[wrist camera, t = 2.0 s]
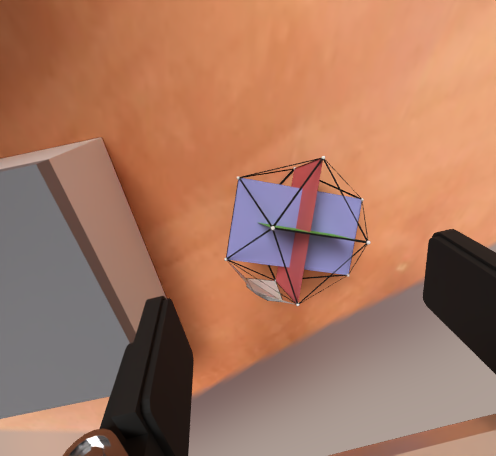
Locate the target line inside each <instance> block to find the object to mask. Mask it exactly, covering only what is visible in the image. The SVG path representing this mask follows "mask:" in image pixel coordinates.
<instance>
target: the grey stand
mask: <svg viewBox="0 0 496 456" xmlns="http://www.w3.org/2000/svg"><path fill="white" fill-rule="evenodd" d="M159 296H165V298H166V295H165V293H164V290H163V288H162V286H161V283H160V281H159V278H158V276H157V273H156V271H155V268H154V266H153V263H152V261H151V258H150V256H149V253H148V251H147V249H146V246H145V244H144V241H143V239H142V236H141V234H140V231H139V229H138V226H137V224H136V221H135V219H134V216H133V214H132V211H131V209H130V207H129V204H128V202H127V199H126V197H125V194H124V192H123V189H122V187H121V184H120V182H119V179H118V177H117V174H116V172H115V169H114V167H113V165H112V162H111V160H110V157H109V155H108V152H107V150H106V147H105V145H104V142H103V140H102V137H100V138H96V139H91V140H86V141H82V142H77V143H72V144H67V145H63V146H58V147H53V148H49V149H44V150H39V151H34V152H30V153H25V154H20V155H16V156H11V157H6V158H1V159H0V419H2V418H7V417H12V416H17V415H22V414H26V413H31V412H36V411H41V410H46V409H51V408H56V407H60V406H65V405H70V404H75V403H80V402H85V401H90V400H95V399H99V398H104V397H109V396H110V395H111V392H112V389H113V386H114V383H115V380H116V376H117V373H118V370H119V367H120V364H121V361H122V358H123V355H124V352H125V349H126V347H127V345H128V344H129V343H133V342H134V339H135V336H136V332H137V329H138V326H139V322H140V319H141V316H142V312H143V309H144V306H145V302H146V300H147V299H151V298H155V297H159ZM166 299H167V298H166Z"/></svg>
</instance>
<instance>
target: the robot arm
mask: <svg viewBox="0 0 496 456" xmlns="http://www.w3.org/2000/svg"><path fill="white" fill-rule="evenodd" d="M423 300H424V302H425V304H426V306H427V307H428V308H429V309H430V310H431V311H433V313H434V314H435V315H436V316H437V317H438V318H439V319H440V320H441V321H442V322H443V323H444V324H445V325H446V326H448V328H449V329H450V330H451V331H453V332H454V333H455V334H456V335H457V336H458V337H459V338H460V339H461V340H462V341H463V342H464V343H465V344H466V345H467V346H468V347H469V348H470V349H471V350H472V351H473V352H474V353H475V354H476V355H477V356H478V357H479V358H480V359H481V360H482V361H483V362H484V363H485V364H486V365H487V366H488V367H489V368H490V369H491V370H492V371H493V372H494V373H495V374H496V253H495V252H494V251H492V250H490V249H488V248H487V247H485V246H483V245H481V244H479V243H478V242H476V241H474V240H472V239H471V238H469V237H467V236H465V235H464V234H462V233H460V232H458V231H456V230H454V229H449V230H445V231H441V232H436V233H434V234H433V236H432V238H430V240H429V243H428V253H427V262H426V271H425V281H424V290H423ZM192 379H193V353H192V350H191V348H190V345H189V342H188V340H187V337H186V335H185V332H184V330H183V327H182V325H181V322H180V320H179V317H178V315H177V312H176V310H175V307H174V305H173V302H172V300H171V299H170V298H169V299H166V298H165V296H159V297H155V298H151V299H147V300H146V302H145V306H144V309H143V312H142V316H141V319H140V322H139V326H138V329H137V332H136V336H135V339H134V342H133V343H129V344H128V345H127V347H126V349H125V352H124V355H123V358H122V361H121V364H120V367H119V370H118V373H117V376H116V380H115V383H114V386H113V389H112V392H111V395H110V398H109V401H108V404H107V407H106V410H105V414H104V417H103V420H102V423H101V426H100V429H97V430H93V431H91V432H89V433H87V434H85V435H83V436H82V437H81V438H79V439H78V440H77V441H75V442H74V443H73V444H72V445H71V446H70V447H69V448H68V449H67V450H66V452H65V453H64V455H63V456H188V448H189V431H190V413H191V397H192ZM329 456H496V414H493V415H489V416H485V417H480V418H476V419H472V420H468V421H464V422H460V423H456V424H452V425H448V426H444V427H440V428H436V429H432V430H428V431H424V432H420V433H416V434H412V435H408V436H404V437H400V438H396V439H392V440H388V441H384V442H380V443H377V444H372V445H368V446H364V447H360V448H356V449H352V450H348V451H344V452H341V453H337V454H333V455H329Z"/></svg>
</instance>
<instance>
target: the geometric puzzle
mask: <svg viewBox="0 0 496 456" xmlns="http://www.w3.org/2000/svg"><path fill="white" fill-rule="evenodd" d="M314 160H315V161H314ZM314 160H310V161H312V162H310V163H307V164H304V165H302V166H299V167H297V168H295V167H294V168H293V169H288V170H292V171H291V172H290V173H289V174H288V175H287V176H286V177H285V178H284V180H283V181H282V182H281V183H280V184H273V183H268V182H262V181H256V180H251V179H245V178H243V177H250V176H256V175H262V174H258V173H255V174H256V175H254V174H251V175H247V176H242V177H239V176H238V177H237V179H238V184H237V191H236V197H235V204H234V210H233V216H232V223H231V229H230V236H229V242H228V249H227V255H226V258H225V261H227V260H228V261H229V262H231V263H232V262H233V261H230V260H235V261H243V262H251V263H258V264H266V265H268V266H269V268H270V265H274V266H278V270H277V276H276V279H275V276H274V274H273V272H272V270H271V268H270V271H271V273H272V275H273V277H274V279H275V280H274V279H272V278H270V279H272V280H274V281H272V280H261V279H257V278H256V279H251V278H245V277H244V276H243V275H242V274H241V273H240V272H239V271H238V270H237V269H236V268H235V267H234V266H232V265H231V264H230V263H229V264H230V265H231V266H232V267H233V268H234V269H235V271H236V272H237V273H238V274H239V275H240V276H241V278H242V279H243V280H244V281H245V282H246V285H247V288H249V289H250V290H251V291H253V292H254V293H255V294H256V295H258V296H260V297H262V298H264V299H266V300H267V301H276V302H285V303H290V302H287V301H283V300H282V297H281V295H282V294H281V293H280V291H279V289H278V286H277V283H278V284H279V286H280V287H281V288H282V289H283V290H284V291H285V292H286V293H287V294H288V295H289V297H290V298H291V299H292V300H293V301H294V303H295V305H297V306H299V305H300V303H302V301H303V300H304V299H305V298H307V297H308V296H309V295H310V294H311V293H312V292H313V291H315V290H316V289H317V288H318V287H319V286H320V285H321V284H322V283H324V282H325V281H326V280H327V279H328V278H329V277H334V276H345V277H346V275H347V276H348V277H349V270H350V264H351V259H352V257H353V256H354V255H355V254H356V253H358V252H359V251H360V250H361V249H362V248H363V247H364V246H365V245H366V246H367V244H370V241H368V236H367V238H366V236H365V234H364V233H363V231H362V229H361V227H360V225H359V223H358V220H359V215H360V209H361V204H362V205H363V202H362V201H363V198H361V197H360V196H359V195H358V194H357V193H356V192H355V191H354V192H355V193H356V194H357V195H358V196H359V197H360V198H359V197H357V196H354V195H352V194H350V193H348V192H346V191H343V190H341V189H340V187H339V186H338V184H337V182H336V180H335V178H334V176H333V174H332V172H331V170H330V169H329V167H328V165H327V163H328V162H327V161H326V160H325V156H322V158H319V159H314ZM323 160H324V162H325V164H326V166H327V168H328V169H329V171H330V173H331V175H332V177H333V179H334V181H335V183H336V184H337V186H338V188H337V187H335V186H332V185H330V184H328V183H326V182H323V181H321V180H319V179H320V173H321V167H322V162H323ZM306 162H309V161H306ZM326 162H327V163H326ZM302 163H305V162H302ZM297 164H301V163H297ZM328 164H329V163H328ZM293 165H296V164H293ZM329 165H330V164H329ZM289 166H292V165H289ZM330 166H331V165H330ZM285 167H288V166H285ZM331 167H332V166H331ZM280 168H284V167H280ZM332 168H333V167H332ZM276 169H279V168H276ZM333 169H334V168H333ZM272 170H275V169H272ZM268 171H271V170H268ZM282 171H287V170H282ZM293 171H294V174H293V180H292V186H291V187H290V186H285V185H281V184H282V183H283V182H284V181H285V180H286V179H287V177H288V176H289V175H290V174H291V173H292V172H293ZM264 172H267V171H264ZM275 172H281V171H275ZM275 172H269V173H275ZM259 173H262V172H259ZM269 173H263V174H269ZM339 176H340V175H339ZM340 177H341V176H340ZM341 178H342V177H341ZM342 179H343V178H342ZM343 180H344V179H343ZM319 181H320V182H322V183H325V184H327V185H329V186H331V187H334V188H336V189H338V190H340V192H341V194H342V196H341V195H335V194H330V193H324V192H319V191H318V185H319ZM344 181H345V180H344ZM345 182H346V181H345ZM346 183H347V182H346ZM347 184H348V183H347ZM342 192H345V193H347V194H349V195H351V196H353V197H356V198H352V197H347V196H344V195H343V193H342ZM363 212H364V208H363ZM364 219H365V215H364ZM357 226H359V228H360V230H361V232H362V233H363V235H364V237H365V239H366V241H362V240H356V239H355V237H356V231H357ZM365 226H366V222H365ZM366 233H367V229H366ZM354 242H362V243H366V244H365V245H364V246H363V247H362V248H361V249H359V250H358V251H357V252H356V253H355V254H354V255H353V256H352V253H353V248H354ZM366 246H365V247H366ZM364 249H365V248H364ZM363 251H364V250H363ZM363 251H362V252H363ZM361 254H362V253H361ZM359 257H360V256H359ZM358 259H359V258H358ZM358 259H357V260H358ZM356 262H357V261H356ZM233 263H235V262H233ZM233 263H232V264H233ZM235 264H237V263H235ZM235 264H234V265H235ZM355 264H356V263H355ZM355 264H354V265H355ZM237 265H240V264H237ZM237 265H236V266H237ZM240 266H242V265H240ZM237 267H238V266H237ZM242 267H244V266H242ZM353 267H354V266H353ZM239 268H240V267H239ZM244 268H247V267H244ZM240 269H241V268H240ZM247 269H249V268H247ZM304 269H305V270H312V271H320V272H328V273H332V274H331V275H333V274H334V273H336V274H343V275H333V276H331V275H330V276H320V277H308V278H321V277H328V278H327V279H326V280H324V281H323V282H322V283H321V284H320V285H319V286H318V287H316V288H315V289H314V290H313V291H312V292H311V293H310V294H309V295H307V296H306V297H305V298H304V299H303V300H302V301H301V302H300V303H298V301H299V295H300V289H301V283H302V279H308V278H303V272H304ZM242 270H243V269H242ZM249 270H251V269H249ZM351 270H352V269H351ZM243 271H244V270H243ZM251 271H253V270H251ZM245 272H246V271H245ZM254 272H256V271H254ZM350 272H351V271H350ZM247 273H248V272H247ZM256 273H258V272H256ZM248 274H249V273H248ZM258 274H260V273H258ZM250 275H251V274H250ZM260 275H263V274H260ZM251 276H252V275H251ZM263 276H265V275H263ZM253 277H254V276H253ZM265 277H267V276H265ZM267 278H269V277H267ZM342 279H343V278H342ZM340 280H341V279H340ZM276 282H277V283H276ZM337 282H338V281H337ZM335 283H336V282H335ZM332 285H333V284H332ZM330 286H331V285H330ZM328 287H329V286H328ZM325 289H326V288H325ZM323 290H324V289H323ZM320 292H321V291H320ZM318 293H319V292H318ZM315 295H316V294H315ZM283 296H284V295H283ZM313 296H314V295H313ZM284 297H285V296H284ZM311 297H312V296H311ZM311 297H310V298H311ZM286 298H287V297H286ZM288 299H289V298H288ZM308 299H309V298H308ZM289 300H290V299H289ZM292 300H291V301H292ZM306 300H307V299H306ZM293 301H292V302H293ZM303 302H304V301H303ZM290 304H293V303H290Z"/></svg>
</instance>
